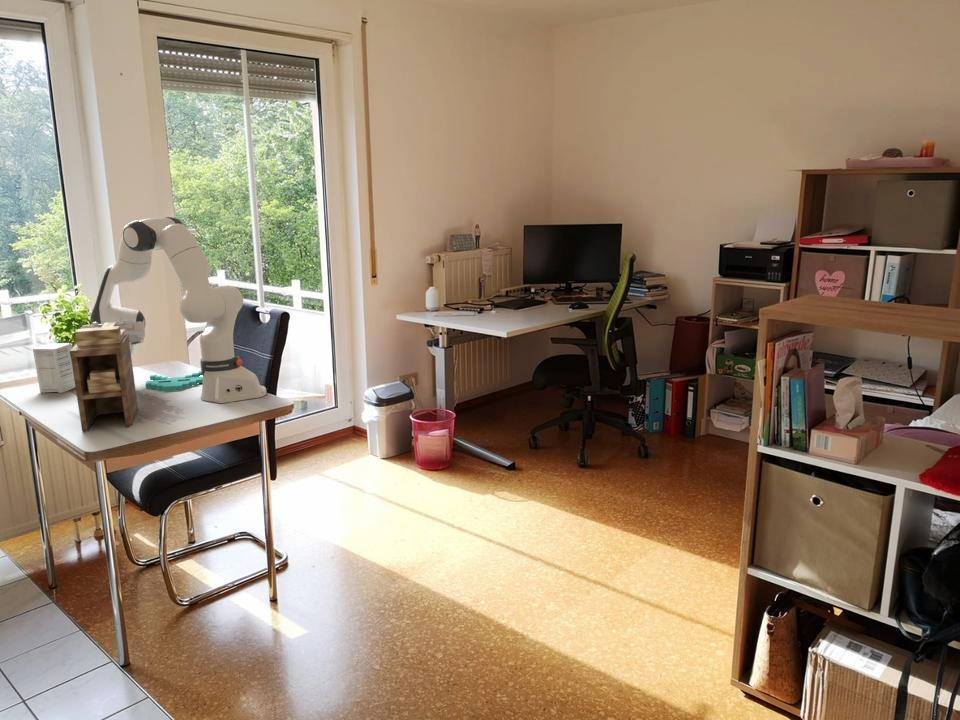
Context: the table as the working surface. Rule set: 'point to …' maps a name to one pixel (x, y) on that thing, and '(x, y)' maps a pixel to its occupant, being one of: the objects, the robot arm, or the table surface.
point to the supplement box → (54, 367)
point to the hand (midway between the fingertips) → (110, 323)
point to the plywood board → (109, 341)
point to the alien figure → (173, 382)
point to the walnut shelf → (104, 381)
